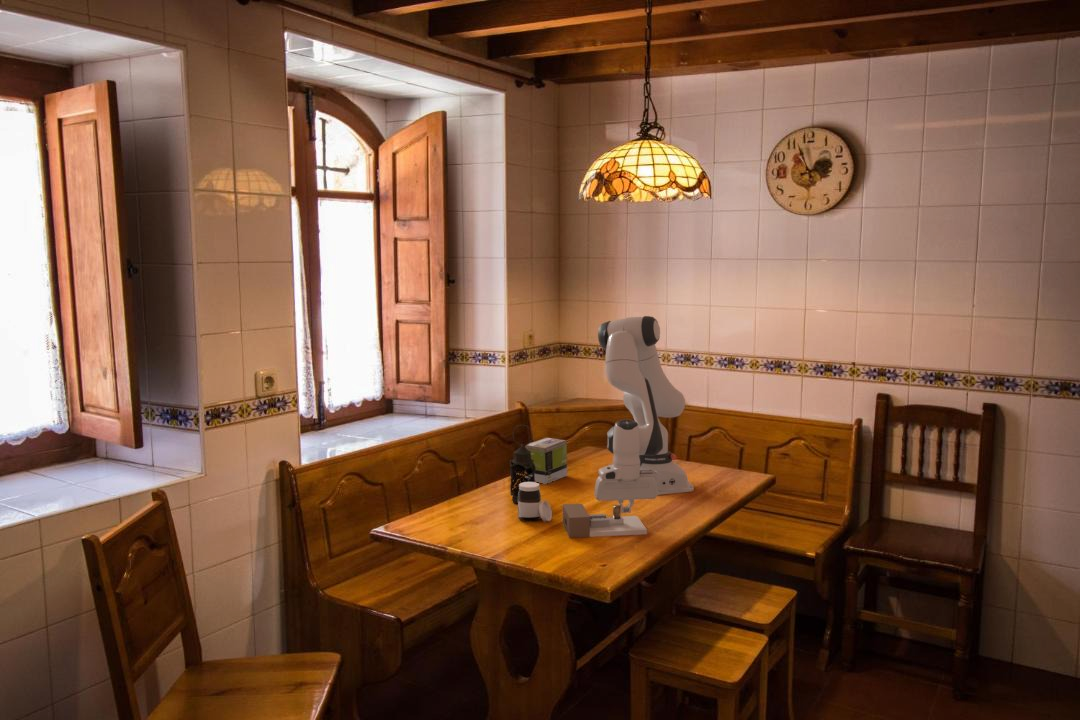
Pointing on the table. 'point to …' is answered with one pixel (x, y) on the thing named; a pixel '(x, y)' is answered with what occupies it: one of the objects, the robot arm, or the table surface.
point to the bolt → (615, 516)
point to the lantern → (521, 469)
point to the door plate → (597, 524)
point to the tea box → (548, 459)
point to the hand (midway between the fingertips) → (625, 512)
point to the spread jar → (532, 503)
